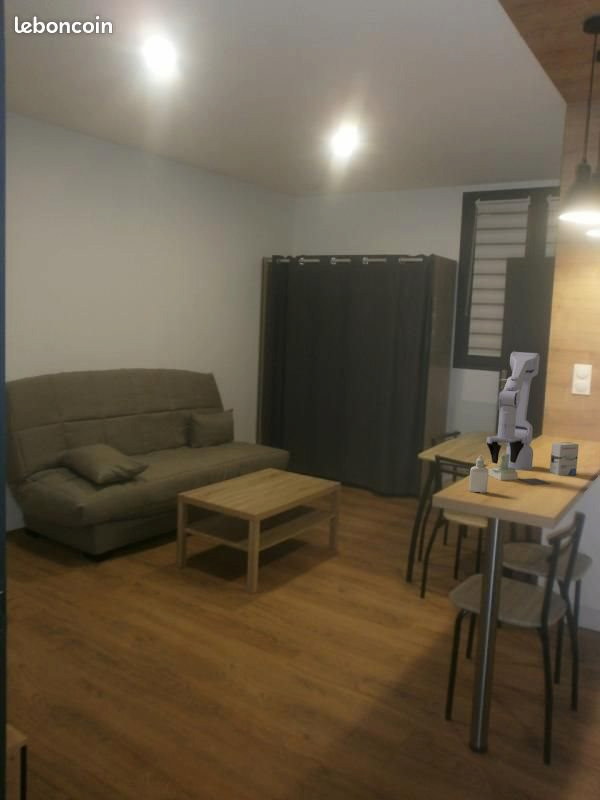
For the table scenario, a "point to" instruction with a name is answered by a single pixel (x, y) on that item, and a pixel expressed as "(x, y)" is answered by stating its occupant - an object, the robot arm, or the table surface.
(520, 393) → the robot arm
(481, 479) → the eye dropper bottle
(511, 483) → the table surface
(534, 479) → the mat
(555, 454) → the ink box
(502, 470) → the lid
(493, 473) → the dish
